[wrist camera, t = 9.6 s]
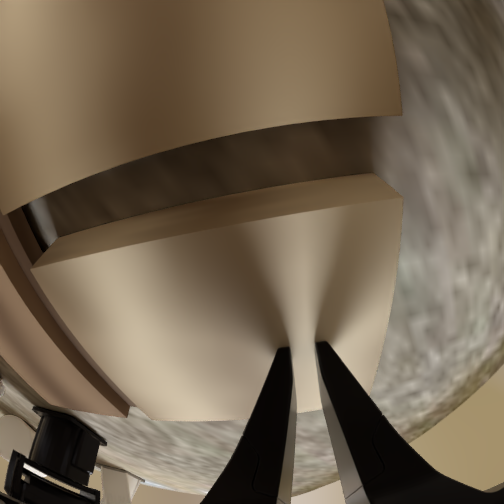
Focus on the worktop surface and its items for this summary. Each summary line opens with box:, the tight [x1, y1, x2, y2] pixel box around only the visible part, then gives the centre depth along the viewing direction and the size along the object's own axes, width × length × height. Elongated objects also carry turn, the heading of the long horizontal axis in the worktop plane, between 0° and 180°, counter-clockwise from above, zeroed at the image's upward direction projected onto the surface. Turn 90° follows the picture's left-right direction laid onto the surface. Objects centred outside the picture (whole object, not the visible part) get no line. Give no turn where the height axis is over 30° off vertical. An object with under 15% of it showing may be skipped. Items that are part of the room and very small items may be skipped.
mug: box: [0, 415, 47, 477], centre depth 23 cm, size 12×10×8 cm
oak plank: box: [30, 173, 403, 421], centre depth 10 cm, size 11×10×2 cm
